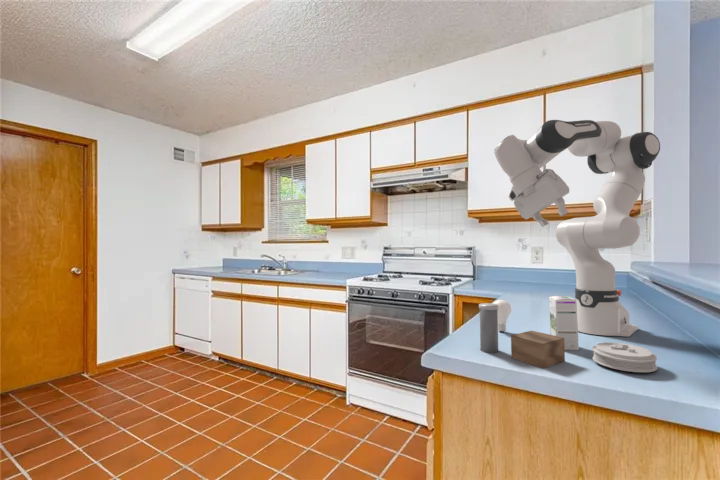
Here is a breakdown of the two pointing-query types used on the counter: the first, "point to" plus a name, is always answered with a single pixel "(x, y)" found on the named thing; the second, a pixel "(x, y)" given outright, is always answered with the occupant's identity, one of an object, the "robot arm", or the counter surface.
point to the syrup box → (564, 320)
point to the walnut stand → (537, 348)
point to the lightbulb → (503, 314)
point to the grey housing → (488, 327)
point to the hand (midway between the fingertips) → (554, 220)
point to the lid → (625, 357)
